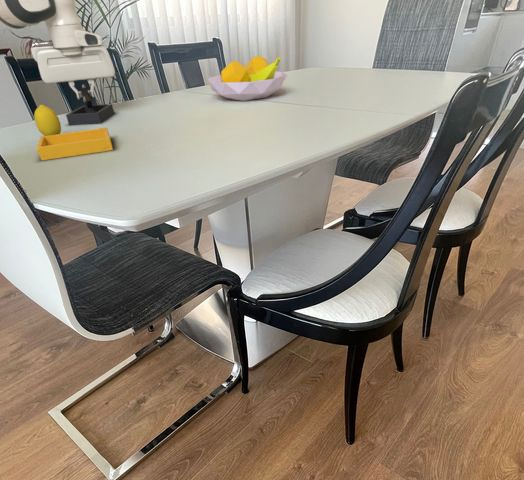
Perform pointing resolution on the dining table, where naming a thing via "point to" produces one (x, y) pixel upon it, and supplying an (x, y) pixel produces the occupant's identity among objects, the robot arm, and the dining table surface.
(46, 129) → the lemon
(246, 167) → the dining table surface
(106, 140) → the yellow tray
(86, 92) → the lighter
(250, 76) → the fruit bowl
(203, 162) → the dining table surface
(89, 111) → the dark tray
